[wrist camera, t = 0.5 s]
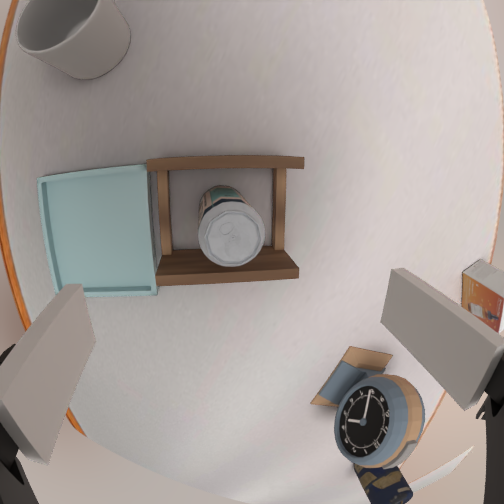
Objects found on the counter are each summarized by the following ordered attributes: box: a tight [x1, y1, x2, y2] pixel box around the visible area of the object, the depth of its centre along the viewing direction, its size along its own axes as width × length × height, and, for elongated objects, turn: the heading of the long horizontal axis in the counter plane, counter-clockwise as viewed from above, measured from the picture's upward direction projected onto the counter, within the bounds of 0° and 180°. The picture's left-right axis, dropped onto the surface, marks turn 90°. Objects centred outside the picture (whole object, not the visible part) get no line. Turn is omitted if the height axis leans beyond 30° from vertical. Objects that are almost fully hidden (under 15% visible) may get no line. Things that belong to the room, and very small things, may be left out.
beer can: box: [198, 186, 265, 267], centre depth 26 cm, size 5×5×12 cm
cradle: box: [147, 155, 304, 286], centre depth 28 cm, size 11×13×7 cm
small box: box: [461, 259, 504, 334], centre depth 37 cm, size 8×6×10 cm
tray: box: [37, 164, 159, 297], centre depth 29 cm, size 14×13×2 cm
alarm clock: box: [310, 346, 425, 469], centre depth 35 cm, size 14×10×18 cm
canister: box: [354, 464, 413, 504], centre depth 47 cm, size 10×10×18 cm
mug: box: [16, 0, 131, 79], centre depth 17 cm, size 12×8×11 cm
